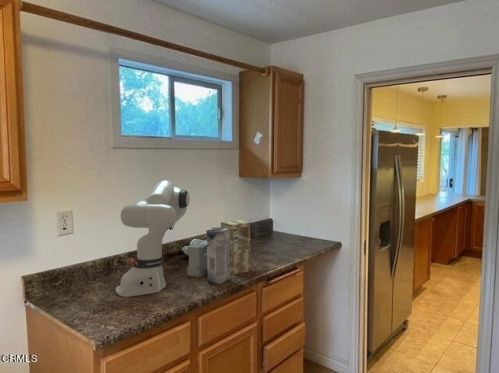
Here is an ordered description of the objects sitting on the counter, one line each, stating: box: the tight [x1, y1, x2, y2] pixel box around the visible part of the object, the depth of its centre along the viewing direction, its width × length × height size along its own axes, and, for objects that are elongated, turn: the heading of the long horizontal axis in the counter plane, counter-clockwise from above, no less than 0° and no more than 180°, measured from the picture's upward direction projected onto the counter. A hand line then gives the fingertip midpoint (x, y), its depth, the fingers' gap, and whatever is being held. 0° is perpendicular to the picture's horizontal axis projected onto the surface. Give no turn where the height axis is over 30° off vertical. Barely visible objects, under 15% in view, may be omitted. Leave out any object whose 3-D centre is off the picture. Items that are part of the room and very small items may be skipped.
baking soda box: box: [234, 228, 238, 251], centre depth 239 cm, size 10×6×16 cm
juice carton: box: [206, 225, 231, 285], centre depth 184 cm, size 9×10×27 cm
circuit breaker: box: [186, 244, 207, 277], centre depth 195 cm, size 8×14×15 cm, turn 78°
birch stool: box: [220, 219, 252, 276], centre depth 200 cm, size 12×10×26 cm
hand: (205, 250), depth 223 cm, fingers open, 8 cm apart
